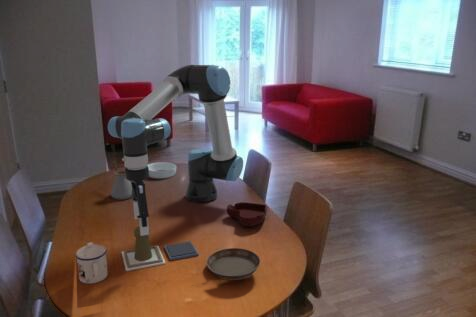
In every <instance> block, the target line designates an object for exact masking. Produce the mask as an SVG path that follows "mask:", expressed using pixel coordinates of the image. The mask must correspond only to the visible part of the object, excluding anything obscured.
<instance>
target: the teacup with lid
mask: <svg viewBox="0 0 476 317" xmlns="http://www.w3.org/2000/svg"><path fill="white" fill-rule="evenodd" d="M75 258H76V263H77V272H78V279H79V280H80V282H82V283H83V284H88V285H89V284H97V283H100V282H102V281H103V280H105V279H106V278H107V276H108V274H109V273H108V263H107V262H108V261H107V248H106V247H105V246H104V245H102V244H97V243H96V244H95V243H94V242H91V241H90V242H87V244H86V245H85V246H82V247H79V249H78V250H77V251H76V253H75Z"/></svg>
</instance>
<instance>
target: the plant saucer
mask: <svg viewBox="0 0 476 317" xmlns="http://www.w3.org/2000/svg"><path fill="white" fill-rule="evenodd" d="M260 265H261V258H260V256H259V255H258V254H257V253H256V252H254V251H251V250H250V249H245V248H240V247H239V248H238V247H234V248H233V247H231V248H229V247H228V248H224V249H223V248H222V249H220V250H217V251H215V252H213V253H211V254H210V255H209V256H208V257H207V259H206V266H207V268H208V269H209V270H210V272H212V274H213V275H215V276H217V277H218V278H220V279H223V280H228V281H229V280H230V281H234V280H235V281H236V280H237V281H238V280H244V279H245V278H248V277H250V276H252V275H253V274H254V273H255V272H256V271H257V270H258V268H259V267H260Z"/></svg>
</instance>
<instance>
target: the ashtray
mask: <svg viewBox="0 0 476 317" xmlns="http://www.w3.org/2000/svg"><path fill="white" fill-rule="evenodd" d="M267 207H268V206H267V205H266V204H262V203H256V202H255V203H253V202H252V203H251V202H242V201H241V202H236V203H235V204H234V205H233V204H228V205H227V207H226V214H227V215H228V216H229V217H230V218H231V217H232V218H231V219H236V220H238V221H239V223H240V224H241V225H243V226H244V227H245V228H247V229H250V228H252V227H253V226H256V225H259V224H261V223H262V222H264V219H265V218H266V216H267V213H268V208H267Z"/></svg>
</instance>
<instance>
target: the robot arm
mask: <svg viewBox="0 0 476 317" xmlns="http://www.w3.org/2000/svg"><path fill="white" fill-rule="evenodd" d="M230 90H231V77H230V74H229V72H228V71H227V69H226V68H225V67H223V66H221V65H215V64H188V65H185V66H181V67H179V68H177V69H176V70H174V71H172V72H171V73H169V74H168V75H166V77H165V78H164V79H163V80H162V84H160V85H159V86H157V88H155V89H154V90H153V91H151V93H149V94H148V95H147V96H145V97H144V98H143V99H142V100H140V101H139V102H138V103H137V104H136V105H135V106H133V107H132V108H131V109H130V110H128V112H126V113H125V114H123V115H122V116H119V115H118V116H113V117H111V118H110V119H109V121H108V123H107V131H108V133H109V135H110V136H111V137H113V138H117V139H120V140H121V143H122V152H123V157H122V158H121V161H122V162H124V171H125V176H126V179H127V180H129V181H130V183H131V186H132V197H131V198H132V203H133V205H132V206H133V213H134V220H138V222H139V226H140V235H141V236H143V235H150V233H149V232H150V228H149V227H150V226H149V217H150V214H149V209H148V201H147V195H146V194H147V193H146V183H144V181H145V180H147V179H149V178H150V177H149V168H148V166H147V165H149V157H148V156H149V155H148V146H150V145H153V144H155V143H158V142H162V141H164V140H166V139H168V138H169V137H170V135H171V132H172V130H171V125H170V123H169V121H168V120H166V118H155V117H156V116H157V115H158V114H160V112H161V111H162V110H164V108H166V107H167V106H168V105H170V103H171V102H173V100H175V99H178V98H181V97H182V96H183V95H187V94H193V95H194V94H197V95H198V100H199V103H202V104H203V105H204V112H205V115H206V122H207V126H208V131H209V136H210V142H211V146H212V148H198V149H193V150H190V151H189V152H188V154H187V166H188V167H187V168H188V184H187V187H186V190H185V198H186V200H189V201H190V202H191V201H192V202H198V203H199V202H200V203H202V202H210V201H213V200H215V199H216V198H217V197H218V190H217V188H216V185H215V182H214V179H215V180H221V181H226V182H236V181H237V180H239V178H240V177H241V175H242V172H243V168H244V160H243V157H242V156H240V155H238V154H237V150H236V149H235V148H234V147H233V145H232V140H231V138H232V137H231V133H230V129H229V122H228V116H227V109H226V104H225V99H226V98H227V96H228V94H229V92H230ZM153 118H154V119H153Z"/></svg>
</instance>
